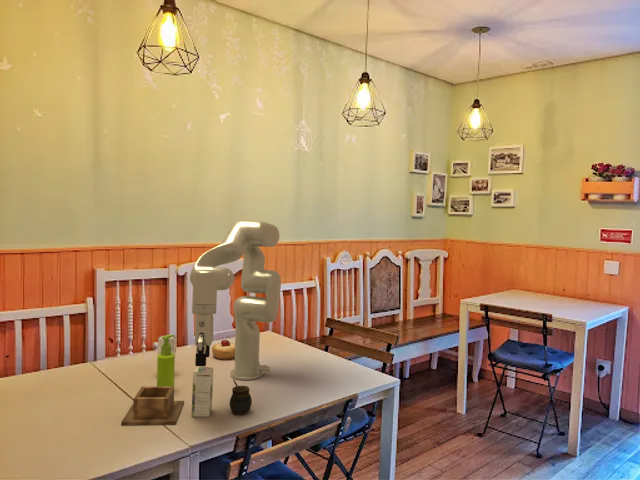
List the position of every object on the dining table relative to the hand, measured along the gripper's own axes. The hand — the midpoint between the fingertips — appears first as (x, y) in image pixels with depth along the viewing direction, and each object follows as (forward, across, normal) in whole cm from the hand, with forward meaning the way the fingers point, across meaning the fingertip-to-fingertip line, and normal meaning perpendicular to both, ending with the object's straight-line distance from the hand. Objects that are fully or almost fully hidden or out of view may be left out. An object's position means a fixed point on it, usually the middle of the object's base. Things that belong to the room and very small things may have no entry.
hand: (202, 361), depth 158 cm
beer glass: (+17, +37, +18) cm, 44 cm away
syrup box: (+18, +1, 0) cm, 18 cm away
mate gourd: (+17, +2, -12) cm, 21 cm away
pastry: (+16, +61, -3) cm, 63 cm away
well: (+17, +1, +15) cm, 23 cm away
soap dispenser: (+17, +21, +15) cm, 31 cm away
